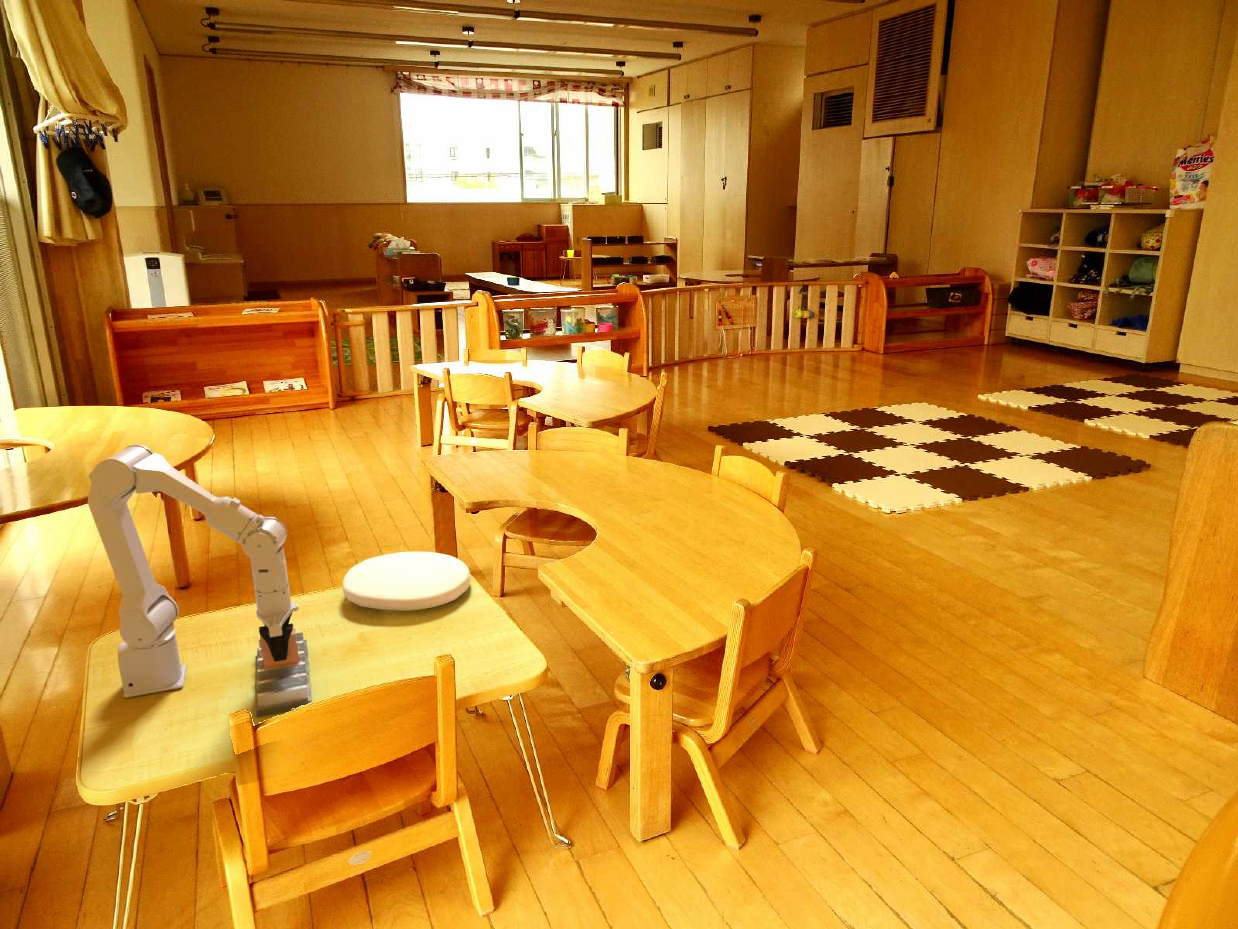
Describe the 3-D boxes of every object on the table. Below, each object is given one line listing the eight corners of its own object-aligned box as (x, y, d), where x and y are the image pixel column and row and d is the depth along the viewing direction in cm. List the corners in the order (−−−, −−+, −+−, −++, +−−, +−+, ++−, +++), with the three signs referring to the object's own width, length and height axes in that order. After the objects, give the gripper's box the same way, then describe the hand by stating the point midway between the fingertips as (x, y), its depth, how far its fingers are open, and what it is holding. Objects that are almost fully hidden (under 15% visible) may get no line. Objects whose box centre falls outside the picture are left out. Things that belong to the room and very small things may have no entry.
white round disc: (465, 543, 207) (478, 590, 182) (463, 568, 209) (476, 618, 184) (344, 544, 199) (341, 593, 174) (344, 570, 200) (340, 622, 176)
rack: (256, 717, 145) (254, 699, 144) (258, 653, 166) (255, 637, 165) (312, 706, 148) (310, 688, 147) (306, 645, 169) (304, 628, 168)
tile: (265, 679, 154) (260, 640, 152) (265, 672, 157) (260, 633, 154) (300, 672, 157) (295, 634, 154) (300, 666, 159) (295, 628, 156)
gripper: (296, 599, 146) (305, 669, 150) (294, 567, 159) (302, 632, 163) (252, 606, 144) (262, 677, 148) (253, 573, 157) (262, 638, 161)
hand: (280, 654), depth 155 cm, fingers open, 4 cm apart
